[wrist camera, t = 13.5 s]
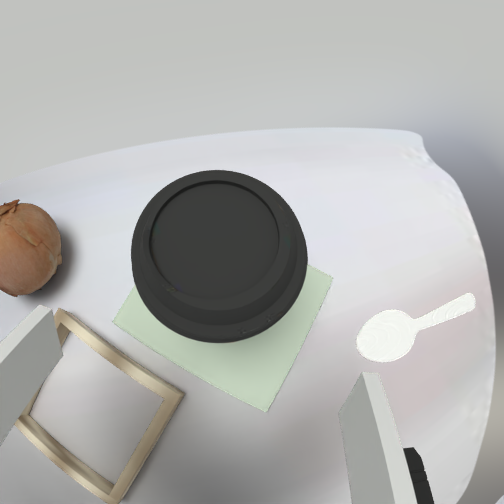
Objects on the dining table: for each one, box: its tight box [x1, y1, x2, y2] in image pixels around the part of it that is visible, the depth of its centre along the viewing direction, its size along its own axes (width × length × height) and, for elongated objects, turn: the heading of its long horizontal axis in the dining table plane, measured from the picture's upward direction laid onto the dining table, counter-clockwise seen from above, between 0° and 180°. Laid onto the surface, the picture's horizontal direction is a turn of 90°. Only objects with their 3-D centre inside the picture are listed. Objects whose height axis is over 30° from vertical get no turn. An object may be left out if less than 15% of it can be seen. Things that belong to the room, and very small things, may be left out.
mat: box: [113, 264, 333, 412], centre depth 27 cm, size 16×14×1 cm
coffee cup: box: [131, 170, 308, 343], centre depth 20 cm, size 9×9×15 cm
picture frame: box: [14, 308, 185, 504], centre depth 22 cm, size 14×14×2 cm
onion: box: [0, 199, 62, 297], centre depth 24 cm, size 10×9×10 cm
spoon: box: [356, 292, 476, 362], centre depth 28 cm, size 5×18×1 cm, turn 103°
